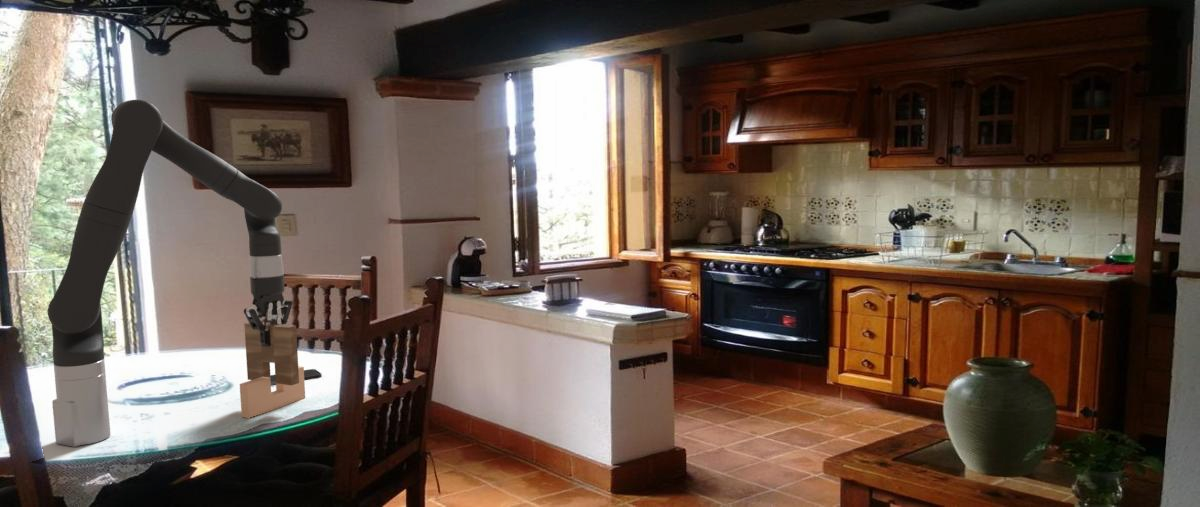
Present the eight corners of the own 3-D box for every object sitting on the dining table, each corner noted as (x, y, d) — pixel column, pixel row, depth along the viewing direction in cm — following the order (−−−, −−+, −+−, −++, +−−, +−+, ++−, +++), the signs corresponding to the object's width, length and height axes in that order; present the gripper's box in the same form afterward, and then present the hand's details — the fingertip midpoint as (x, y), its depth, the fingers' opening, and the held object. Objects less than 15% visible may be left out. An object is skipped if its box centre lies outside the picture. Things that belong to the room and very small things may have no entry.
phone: (322, 374, 228) (265, 383, 219) (322, 378, 228) (265, 387, 219) (314, 368, 234) (258, 376, 226) (314, 372, 234) (258, 380, 226)
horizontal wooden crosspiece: (249, 418, 192) (247, 385, 191) (241, 417, 193) (239, 384, 192) (305, 397, 208) (303, 366, 207) (297, 396, 209) (296, 365, 208)
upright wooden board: (291, 385, 196) (288, 327, 194) (247, 379, 201) (244, 323, 200) (299, 382, 198) (296, 325, 196) (255, 377, 204) (252, 321, 202)
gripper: (276, 269, 204) (280, 337, 206) (231, 277, 192) (236, 349, 194) (300, 270, 201) (303, 340, 203) (256, 278, 189) (260, 352, 191)
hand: (270, 344), depth 199 cm, fingers closed on upright wooden board, 2 cm apart
